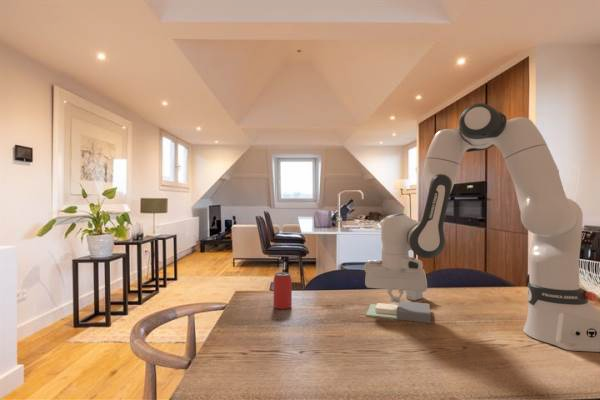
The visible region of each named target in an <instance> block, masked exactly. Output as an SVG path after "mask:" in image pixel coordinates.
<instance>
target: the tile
mask: <svg viewBox="0 0 600 400" xmlns="http://www.w3.org/2000/svg"><path fill="white" fill-rule="evenodd" d="M398 305H399V304H394V303H382V302H377V303H376V308H375V312H376V313H386V314H395V315H397V310H398Z"/></svg>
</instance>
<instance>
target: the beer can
mask: <svg viewBox="0 0 600 400" xmlns="http://www.w3.org/2000/svg"><path fill="white" fill-rule="evenodd" d="M292 281H293V280H292V276H291V274H290V273H289V272H283V271H282V272H276V273H274V277H273V308H275V309H276V310H288V309H290V308H291V307H292V305H293V303H292V301H293V300H292V297H293V296H292Z"/></svg>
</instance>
